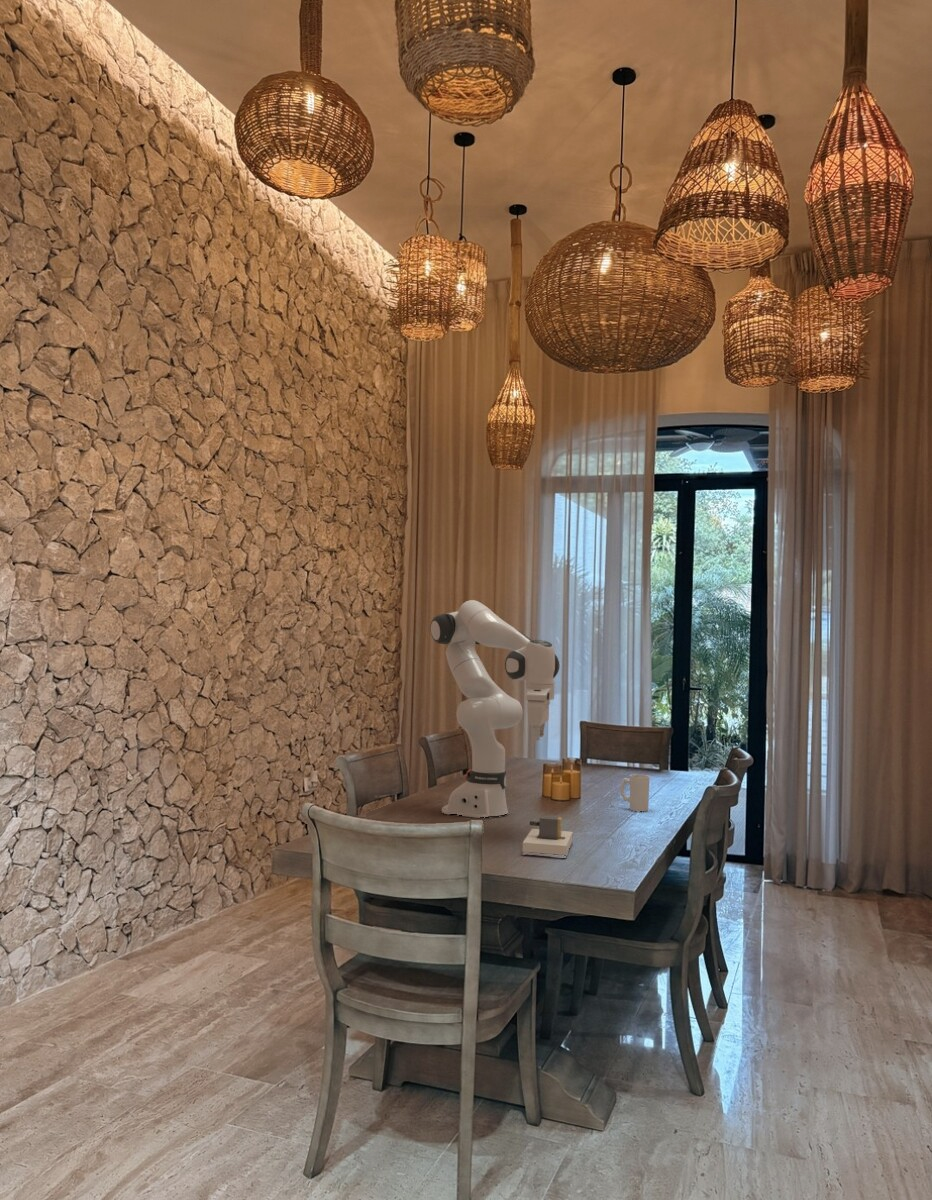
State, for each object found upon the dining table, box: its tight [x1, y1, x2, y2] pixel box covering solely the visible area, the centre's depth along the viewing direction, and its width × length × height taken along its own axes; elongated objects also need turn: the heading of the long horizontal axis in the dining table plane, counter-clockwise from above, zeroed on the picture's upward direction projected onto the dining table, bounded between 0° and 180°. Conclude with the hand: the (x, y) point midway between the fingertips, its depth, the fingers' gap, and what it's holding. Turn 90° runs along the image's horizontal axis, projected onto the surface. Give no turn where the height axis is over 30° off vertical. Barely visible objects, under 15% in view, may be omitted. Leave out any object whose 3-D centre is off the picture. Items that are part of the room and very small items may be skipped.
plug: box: [529, 815, 563, 840], centre depth 258 cm, size 9×4×8 cm, turn 78°
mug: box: [620, 773, 650, 813], centre depth 318 cm, size 10×7×12 cm, turn 69°
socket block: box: [522, 828, 574, 856], centre depth 257 cm, size 12×18×4 cm, turn 168°
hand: (538, 738), depth 277 cm, fingers open, 8 cm apart
